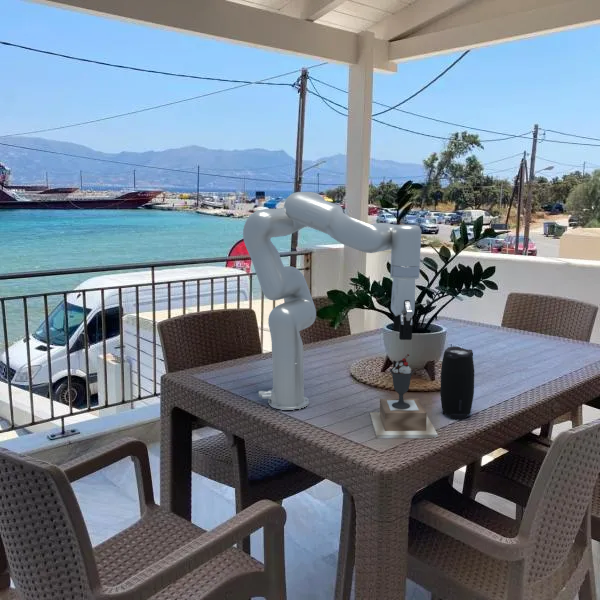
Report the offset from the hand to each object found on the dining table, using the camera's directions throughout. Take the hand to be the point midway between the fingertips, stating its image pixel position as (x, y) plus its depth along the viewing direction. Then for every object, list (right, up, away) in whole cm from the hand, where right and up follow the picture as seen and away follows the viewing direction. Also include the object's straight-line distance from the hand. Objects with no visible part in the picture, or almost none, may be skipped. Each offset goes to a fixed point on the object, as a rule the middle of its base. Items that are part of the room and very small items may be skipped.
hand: (402, 334), depth 154 cm
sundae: (0, -20, +3) cm, 20 cm away
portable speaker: (+18, -24, +12) cm, 32 cm away
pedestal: (+1, -26, +4) cm, 26 cm away
